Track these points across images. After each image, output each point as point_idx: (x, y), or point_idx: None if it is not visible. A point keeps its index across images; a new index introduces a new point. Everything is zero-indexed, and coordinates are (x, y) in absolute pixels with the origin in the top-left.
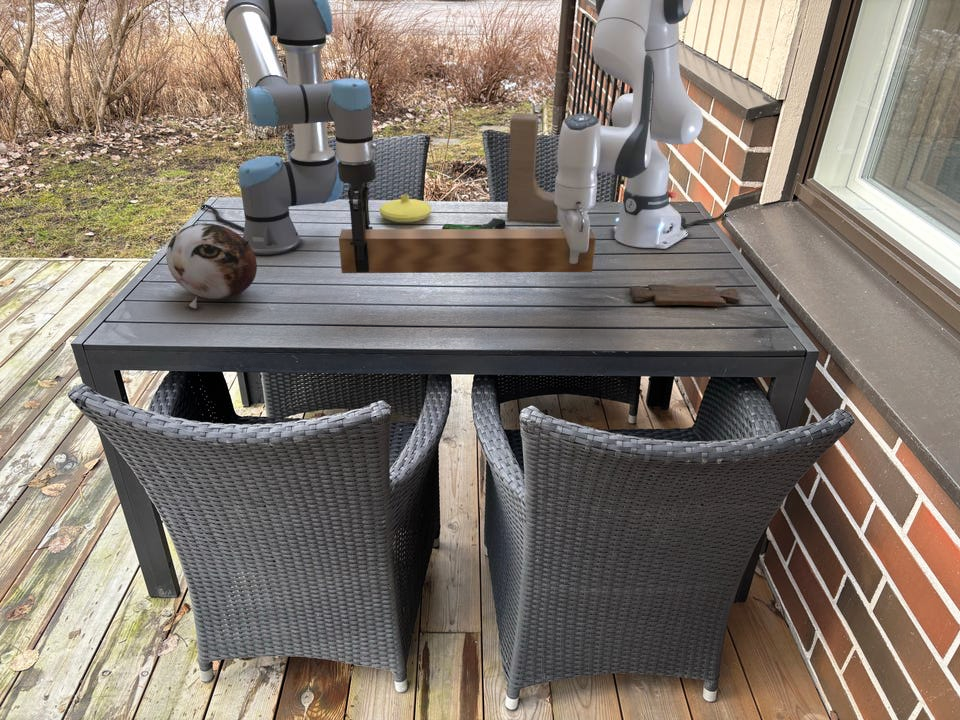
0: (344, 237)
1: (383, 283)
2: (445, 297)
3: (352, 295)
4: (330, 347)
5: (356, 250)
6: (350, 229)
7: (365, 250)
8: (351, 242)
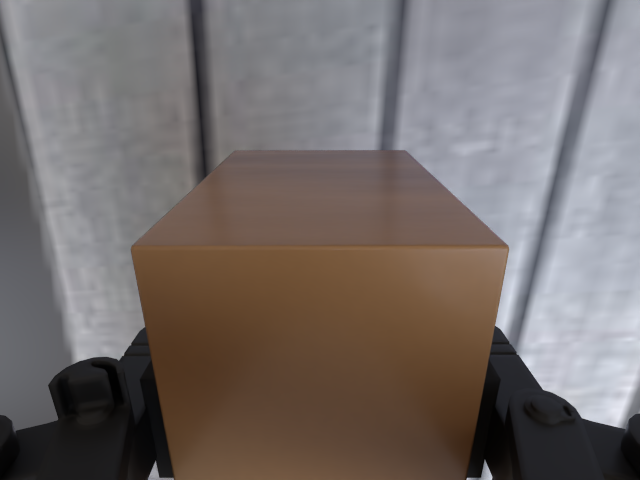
0: (180, 315)
1: (561, 236)
2: None
3: (469, 123)
4: (21, 86)
5: None
6: (482, 353)
7: None
8: (52, 395)
